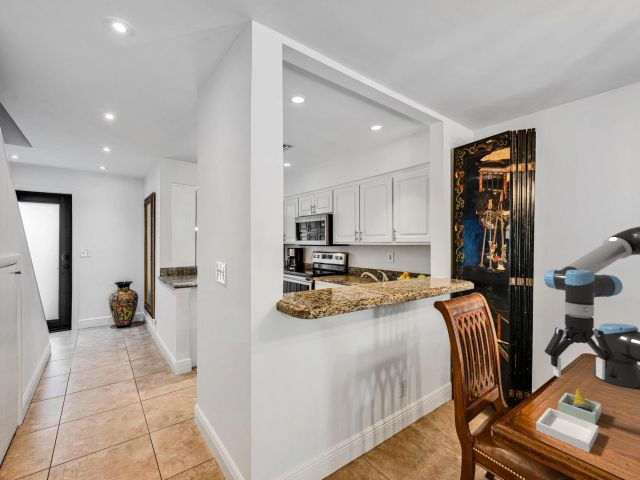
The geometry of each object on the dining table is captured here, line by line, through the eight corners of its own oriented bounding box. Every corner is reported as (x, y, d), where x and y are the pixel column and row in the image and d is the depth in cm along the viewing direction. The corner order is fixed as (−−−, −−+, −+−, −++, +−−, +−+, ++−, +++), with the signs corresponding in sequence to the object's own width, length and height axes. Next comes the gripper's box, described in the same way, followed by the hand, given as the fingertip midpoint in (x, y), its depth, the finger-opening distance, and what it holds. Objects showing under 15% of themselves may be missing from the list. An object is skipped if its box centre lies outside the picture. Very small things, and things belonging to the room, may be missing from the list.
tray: (548, 414, 102) (548, 407, 102) (598, 433, 92) (598, 425, 92) (536, 430, 94) (536, 422, 94) (589, 452, 84) (589, 443, 84)
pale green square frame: (565, 401, 109) (565, 392, 109) (601, 414, 102) (601, 403, 102) (557, 411, 103) (557, 401, 103) (595, 425, 96) (594, 414, 96)
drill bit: (569, 416, 102) (563, 386, 108) (584, 423, 101) (577, 393, 108) (584, 414, 97) (577, 383, 104) (599, 421, 97) (591, 390, 104)
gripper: (546, 317, 100) (546, 379, 100) (629, 319, 97) (628, 384, 97) (533, 311, 107) (532, 369, 108) (610, 313, 104) (609, 373, 105)
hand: (578, 376), depth 102 cm, fingers open, 13 cm apart
